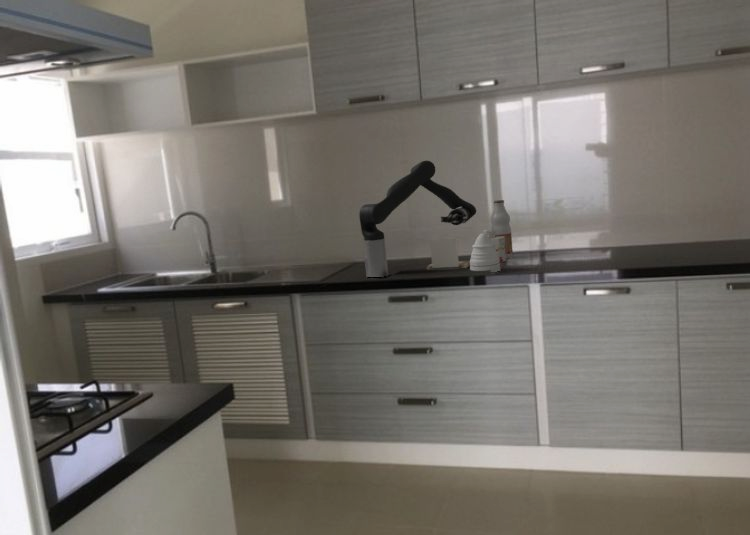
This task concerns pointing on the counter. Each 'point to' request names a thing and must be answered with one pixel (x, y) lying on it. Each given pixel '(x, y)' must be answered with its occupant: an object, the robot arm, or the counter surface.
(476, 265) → the honey pot
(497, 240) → the ink cartridge box
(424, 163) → the robot arm
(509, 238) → the fruit juice
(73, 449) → the counter surface
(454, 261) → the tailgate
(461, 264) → the bed
